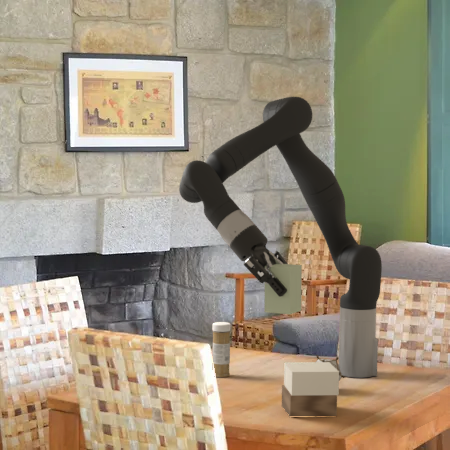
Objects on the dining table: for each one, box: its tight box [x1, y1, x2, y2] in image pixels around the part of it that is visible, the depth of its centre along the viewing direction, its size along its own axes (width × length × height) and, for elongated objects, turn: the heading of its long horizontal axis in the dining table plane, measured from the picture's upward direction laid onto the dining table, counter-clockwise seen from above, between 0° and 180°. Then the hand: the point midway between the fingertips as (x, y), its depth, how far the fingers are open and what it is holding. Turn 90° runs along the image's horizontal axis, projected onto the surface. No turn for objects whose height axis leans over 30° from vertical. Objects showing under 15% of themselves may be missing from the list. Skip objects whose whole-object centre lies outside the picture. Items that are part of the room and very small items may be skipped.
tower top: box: [283, 361, 340, 396], centre depth 207 cm, size 10×10×5 cm
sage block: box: [263, 263, 303, 315], centre depth 208 cm, size 6×6×10 cm
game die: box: [315, 355, 346, 382], centre depth 227 cm, size 9×8×10 cm
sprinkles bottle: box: [211, 321, 232, 378], centre depth 241 cm, size 5×5×13 cm
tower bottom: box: [281, 384, 338, 417], centre depth 207 cm, size 10×10×5 cm
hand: (290, 292), depth 207 cm, fingers closed on sage block, 6 cm apart
